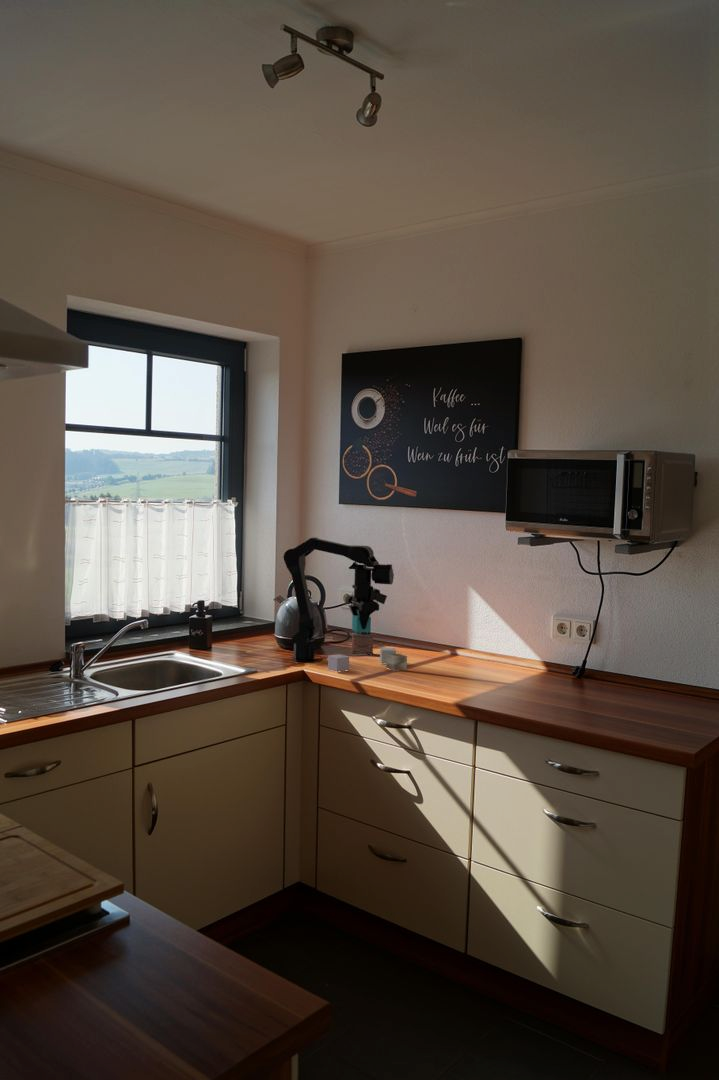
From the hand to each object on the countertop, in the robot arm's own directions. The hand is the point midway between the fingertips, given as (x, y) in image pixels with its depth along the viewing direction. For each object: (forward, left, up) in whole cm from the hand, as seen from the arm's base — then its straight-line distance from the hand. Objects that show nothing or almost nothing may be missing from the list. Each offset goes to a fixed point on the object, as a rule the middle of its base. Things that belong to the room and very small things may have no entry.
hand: (361, 627), depth 301 cm
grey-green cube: (+10, -9, -13) cm, 19 cm away
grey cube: (+11, +2, -13) cm, 17 cm away
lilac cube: (-10, -7, -13) cm, 18 cm away
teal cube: (0, 0, -1) cm, 1 cm away
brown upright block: (+7, +18, -13) cm, 23 cm away
